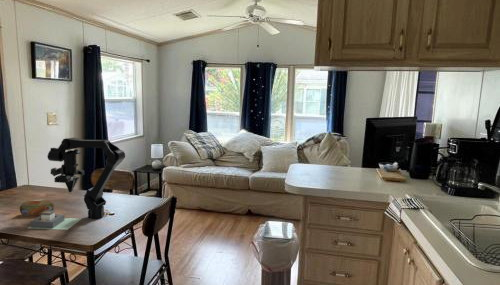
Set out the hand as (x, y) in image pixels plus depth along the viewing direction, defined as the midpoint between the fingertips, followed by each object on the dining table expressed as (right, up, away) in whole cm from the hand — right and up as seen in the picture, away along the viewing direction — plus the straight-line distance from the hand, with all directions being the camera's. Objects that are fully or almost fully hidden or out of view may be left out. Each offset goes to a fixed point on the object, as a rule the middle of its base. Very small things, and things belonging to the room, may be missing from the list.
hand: (70, 192), depth 163 cm
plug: (-4, -13, -12) cm, 18 cm away
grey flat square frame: (-4, -13, -12) cm, 18 cm away
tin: (-17, -12, 0) cm, 21 cm away
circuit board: (-1, -14, -10) cm, 18 cm away
